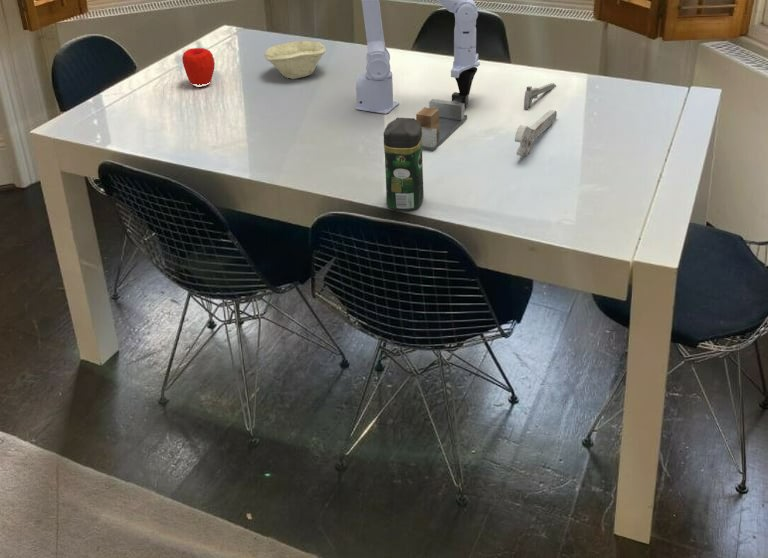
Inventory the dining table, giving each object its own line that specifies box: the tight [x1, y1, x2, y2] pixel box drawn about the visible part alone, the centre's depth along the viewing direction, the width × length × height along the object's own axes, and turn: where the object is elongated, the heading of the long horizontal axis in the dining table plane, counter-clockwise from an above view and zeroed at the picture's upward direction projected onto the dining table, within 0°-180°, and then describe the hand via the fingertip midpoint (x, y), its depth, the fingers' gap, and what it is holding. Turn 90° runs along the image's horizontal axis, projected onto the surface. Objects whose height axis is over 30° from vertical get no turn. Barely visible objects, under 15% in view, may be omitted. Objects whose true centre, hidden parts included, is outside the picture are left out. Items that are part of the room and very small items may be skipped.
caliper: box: [523, 82, 557, 111], centre depth 252 cm, size 20×1×6 cm, turn 149°
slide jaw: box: [428, 91, 469, 120], centre depth 244 cm, size 9×11×4 cm
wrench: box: [514, 109, 558, 157], centre depth 228 cm, size 8×2×30 cm
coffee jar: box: [383, 117, 425, 212], centre depth 199 cm, size 10×8×19 cm
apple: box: [181, 47, 216, 85], centre depth 269 cm, size 9×9×11 cm
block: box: [415, 106, 439, 133], centre depth 231 cm, size 4×5×6 cm
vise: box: [422, 114, 468, 152], centre depth 235 cm, size 9×22×5 cm, turn 154°
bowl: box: [263, 40, 327, 80], centre depth 273 cm, size 14×18×15 cm
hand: (464, 94), depth 250 cm, fingers closed
